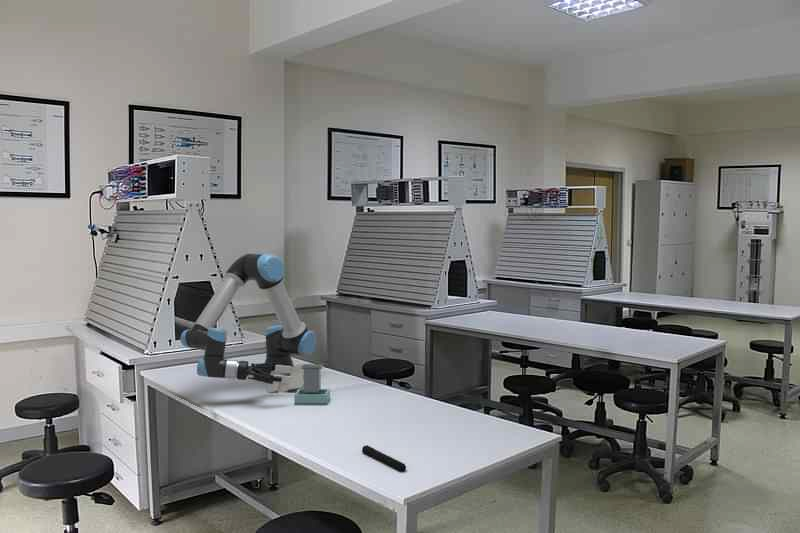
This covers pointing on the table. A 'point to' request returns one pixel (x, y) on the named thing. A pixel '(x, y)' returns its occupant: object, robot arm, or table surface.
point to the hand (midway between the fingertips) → (290, 374)
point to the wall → (295, 380)
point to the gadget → (384, 458)
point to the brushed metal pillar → (312, 378)
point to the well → (312, 398)
